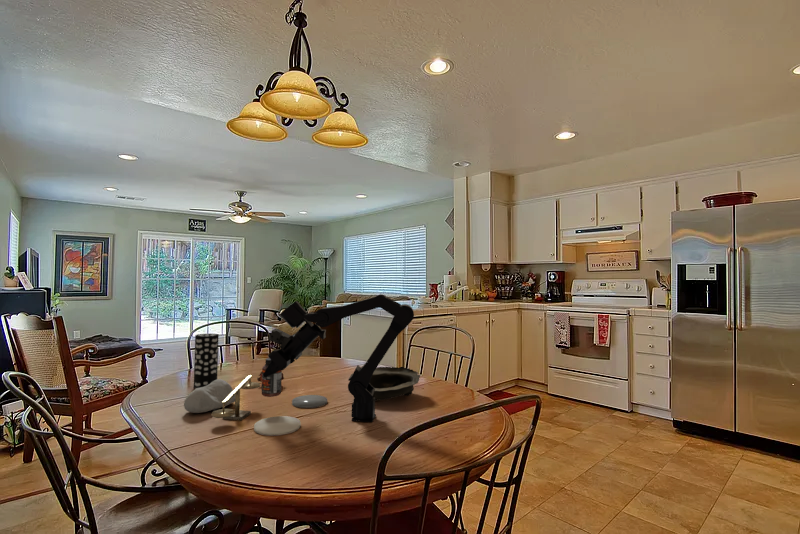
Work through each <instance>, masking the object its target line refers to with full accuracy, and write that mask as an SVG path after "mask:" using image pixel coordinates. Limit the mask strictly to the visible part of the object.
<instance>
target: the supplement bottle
mask: <svg viewBox="0 0 800 534" xmlns="http://www.w3.org/2000/svg"><path fill="white" fill-rule="evenodd" d="M270 362H271V359H270V358H269V357H267V358H265V362H264V363H265V364H264V365H263V366H262V368H261V372H262V382H261V396H263V397H267V398H272V397H273V398H274V397H278V396H280V395H281V394H282V381H283V380H282V373H283V372H282V371H283V370H281V371H279V372H276V373H274V374H272V375H269V376H267V377H264V376H263V373H264V372H265V370H266V369H267V367H268V366H269V364H270Z"/></svg>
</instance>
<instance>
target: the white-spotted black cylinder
mask: <svg viewBox="0 0 800 534" xmlns="http://www.w3.org/2000/svg"><path fill="white" fill-rule="evenodd" d="M194 337H195V338H194V363H193V367H194V368H193V369H194V370H193V389H196V388H200V387H204V386H207V385H209V384H210V383H212V382H213V381H214V380H217V379H218V366H219V364H218V363H219V334H218V333H198V334H195V335H194Z"/></svg>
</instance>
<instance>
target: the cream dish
mask: <svg viewBox="0 0 800 534" xmlns="http://www.w3.org/2000/svg"><path fill="white" fill-rule="evenodd" d="M301 425H302V424H301V420H300V419H299V418H297V417H294V416H289V415H288V416H287V415H279V416H277V415H276V416H270V417H266V418H262V419H260V420H258V421H256V422H255V423H254V425H253V431H254V432H255V433H256V434H259V435H263V436H266V437H267V436H270V437H272V436H273V437H274V436H275V437H276V436H283V435H288V434H292V433H294V432H297V431H298V430H299V429H301Z"/></svg>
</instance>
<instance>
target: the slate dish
mask: <svg viewBox="0 0 800 534" xmlns="http://www.w3.org/2000/svg"><path fill="white" fill-rule="evenodd" d="M291 404H292V405H291V406H293V407H296V408H300V409H314V408H320V407H323V406H326V405H327V404H328V398H327V397H326V396H323V395H318V394H306V395H299V396H296V397H294V398H292V400H291Z"/></svg>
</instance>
